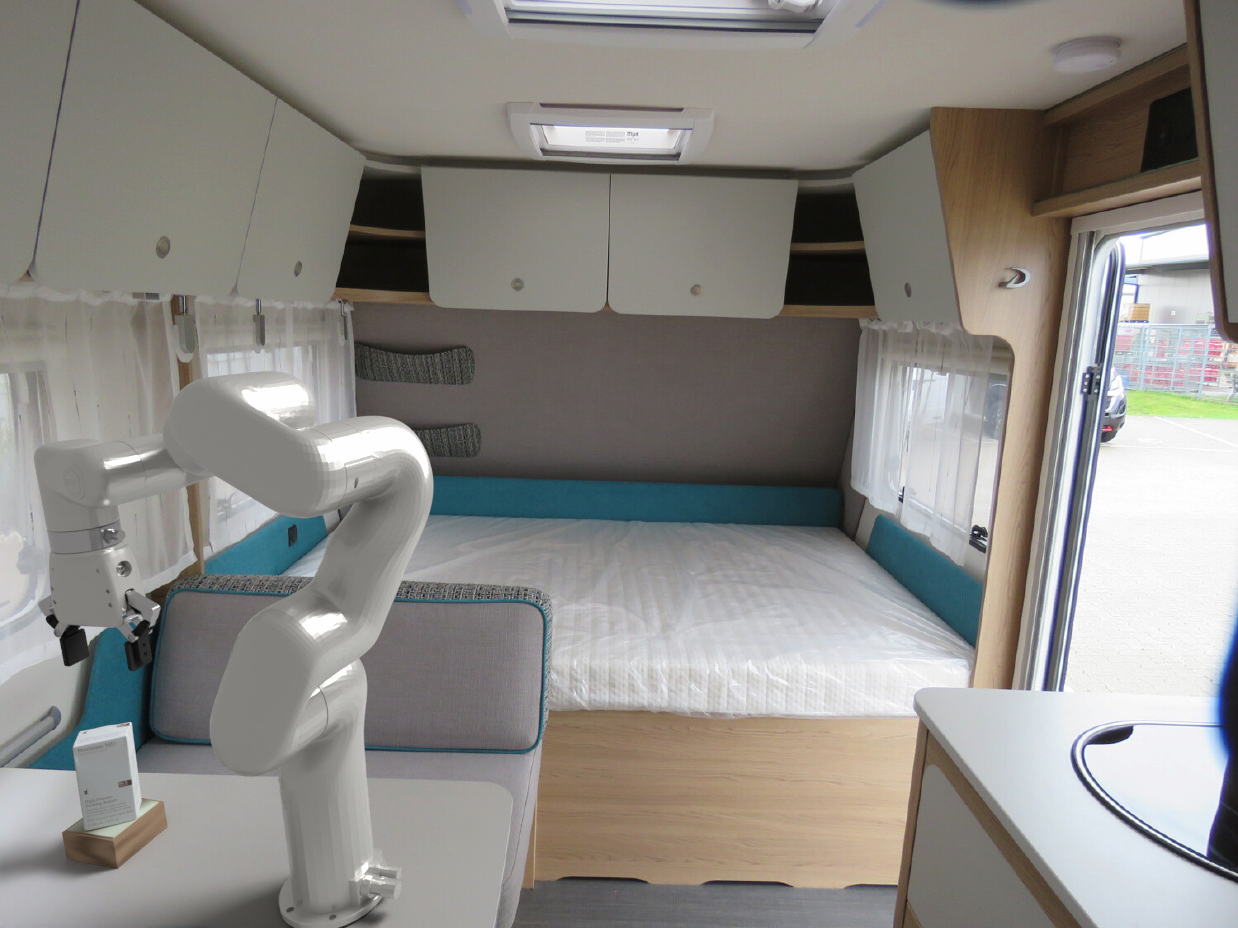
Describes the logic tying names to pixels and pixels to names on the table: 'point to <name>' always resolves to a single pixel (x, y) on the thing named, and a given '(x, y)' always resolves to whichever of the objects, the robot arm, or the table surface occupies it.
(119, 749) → the skincare box
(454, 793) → the table surface
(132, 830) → the brown square block
